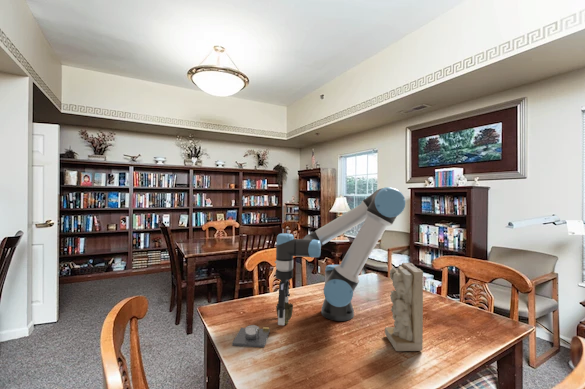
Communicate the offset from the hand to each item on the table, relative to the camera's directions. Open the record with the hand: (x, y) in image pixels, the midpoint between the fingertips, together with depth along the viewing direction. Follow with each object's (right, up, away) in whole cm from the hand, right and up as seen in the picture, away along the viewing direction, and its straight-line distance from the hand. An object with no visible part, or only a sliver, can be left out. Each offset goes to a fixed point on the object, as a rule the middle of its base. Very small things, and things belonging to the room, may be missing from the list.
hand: (283, 317), depth 122 cm
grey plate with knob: (-12, -2, -13) cm, 18 cm away
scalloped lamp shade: (+1, -3, 0) cm, 3 cm away
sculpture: (+46, -3, -16) cm, 49 cm away
